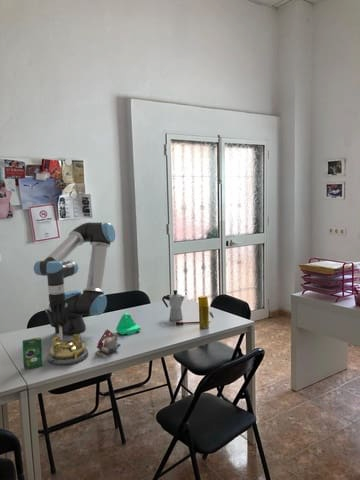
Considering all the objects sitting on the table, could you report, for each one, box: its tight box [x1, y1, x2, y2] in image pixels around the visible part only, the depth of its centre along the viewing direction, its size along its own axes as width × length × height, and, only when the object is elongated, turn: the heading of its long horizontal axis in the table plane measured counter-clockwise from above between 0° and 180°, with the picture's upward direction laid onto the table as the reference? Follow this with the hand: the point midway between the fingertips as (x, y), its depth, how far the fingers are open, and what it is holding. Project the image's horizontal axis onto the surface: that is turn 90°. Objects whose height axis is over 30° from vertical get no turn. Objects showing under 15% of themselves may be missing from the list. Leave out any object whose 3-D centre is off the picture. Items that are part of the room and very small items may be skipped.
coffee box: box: [22, 337, 44, 370], centre depth 178 cm, size 8×3×13 cm, turn 120°
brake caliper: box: [96, 328, 121, 357], centre depth 194 cm, size 11×11×12 cm
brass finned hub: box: [49, 333, 86, 359], centre depth 188 cm, size 16×16×6 cm
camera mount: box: [115, 312, 142, 336], centre depth 221 cm, size 12×8×10 cm, turn 122°
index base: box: [46, 347, 89, 367], centre depth 188 cm, size 19×19×5 cm
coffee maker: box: [161, 289, 186, 322], centre depth 243 cm, size 15×9×18 cm, turn 84°
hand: (60, 339), depth 193 cm, fingers closed
